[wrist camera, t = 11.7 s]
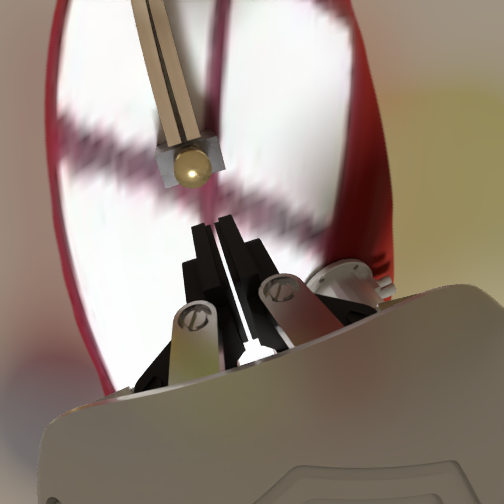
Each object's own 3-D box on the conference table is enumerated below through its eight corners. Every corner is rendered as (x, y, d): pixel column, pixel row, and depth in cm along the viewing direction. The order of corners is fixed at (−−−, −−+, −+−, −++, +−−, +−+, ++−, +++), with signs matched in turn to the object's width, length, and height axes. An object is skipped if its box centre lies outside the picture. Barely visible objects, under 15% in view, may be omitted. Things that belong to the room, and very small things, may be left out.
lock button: (203, 142, 21) (206, 147, 19) (212, 173, 22) (216, 181, 21) (169, 152, 20) (169, 159, 19) (179, 184, 22) (180, 193, 21)
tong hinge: (210, 128, 24) (218, 136, 21) (217, 157, 26) (226, 170, 23) (156, 145, 24) (154, 156, 20) (166, 174, 26) (165, 189, 22)
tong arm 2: (141, -22, 14) (136, -43, 10) (179, 132, 23) (181, 142, 19) (130, -19, 13) (123, -39, 9) (168, 135, 23) (168, 147, 19)
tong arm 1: (153, -26, 14) (151, -47, 10) (195, 127, 23) (200, 136, 19) (142, -22, 14) (137, -43, 10) (184, 130, 23) (187, 141, 19)
